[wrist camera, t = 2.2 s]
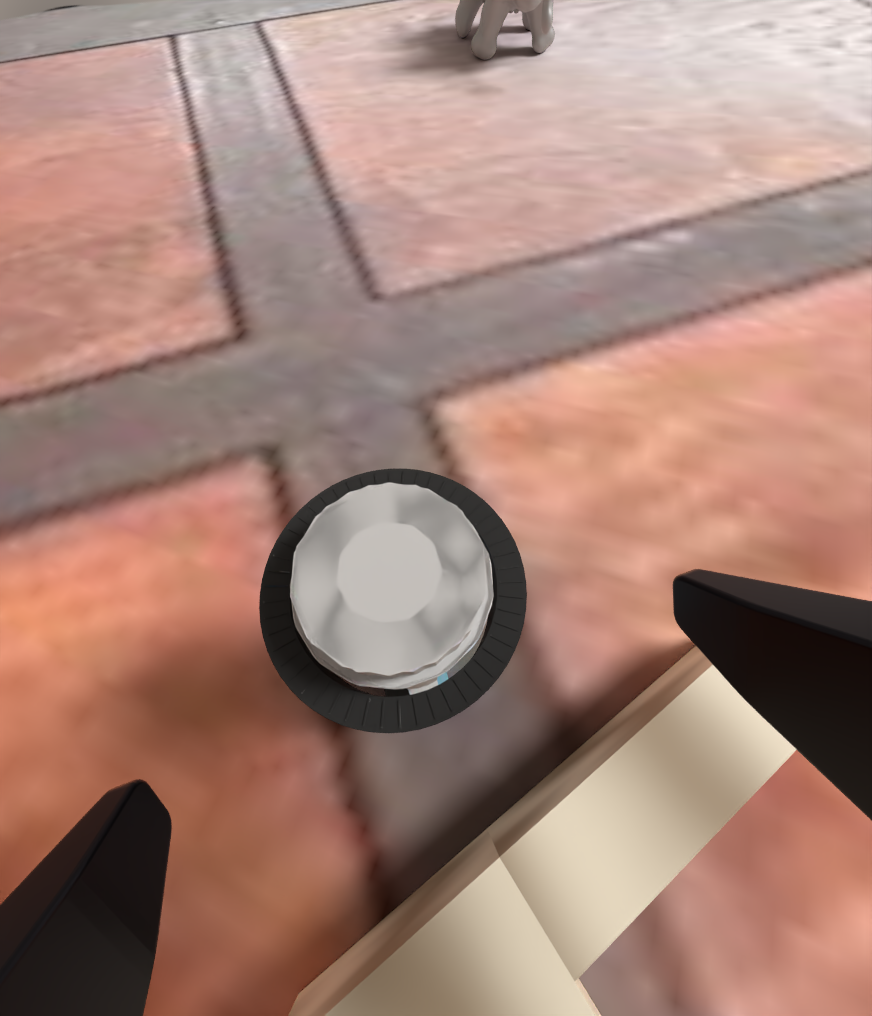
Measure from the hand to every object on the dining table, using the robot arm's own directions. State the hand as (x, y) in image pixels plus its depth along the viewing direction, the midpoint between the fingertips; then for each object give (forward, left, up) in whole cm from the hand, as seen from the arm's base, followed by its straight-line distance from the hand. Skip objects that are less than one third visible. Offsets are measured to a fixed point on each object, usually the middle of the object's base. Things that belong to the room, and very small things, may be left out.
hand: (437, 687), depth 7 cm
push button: (+1, +3, -10) cm, 10 cm away
